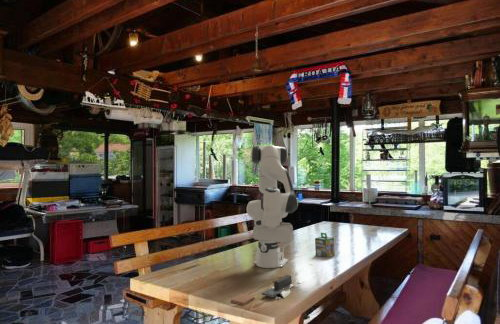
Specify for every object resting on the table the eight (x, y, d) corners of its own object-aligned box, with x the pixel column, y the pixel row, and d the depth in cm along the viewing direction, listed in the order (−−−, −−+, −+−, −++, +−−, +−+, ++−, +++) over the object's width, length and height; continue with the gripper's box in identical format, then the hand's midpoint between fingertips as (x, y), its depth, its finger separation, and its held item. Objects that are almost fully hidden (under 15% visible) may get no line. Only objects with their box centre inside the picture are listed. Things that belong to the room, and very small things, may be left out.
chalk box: (335, 255, 232) (334, 232, 232) (326, 257, 226) (325, 234, 226) (323, 252, 239) (323, 230, 239) (315, 255, 233) (314, 232, 233)
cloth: (281, 281, 183) (281, 277, 183) (305, 286, 176) (305, 281, 176) (255, 298, 161) (255, 293, 161) (282, 304, 154) (282, 298, 154)
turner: (284, 282, 175) (283, 274, 175) (294, 284, 172) (294, 276, 172) (261, 294, 159) (261, 285, 159) (272, 297, 156) (272, 288, 156)
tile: (241, 293, 162) (231, 299, 155) (254, 296, 158) (243, 302, 151) (241, 297, 162) (231, 303, 155) (254, 300, 158) (244, 306, 151)
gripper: (295, 222, 167) (295, 251, 167) (257, 219, 177) (257, 246, 177) (289, 224, 161) (290, 254, 161) (251, 221, 171) (251, 249, 171)
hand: (273, 250), depth 169 cm, fingers open, 8 cm apart
